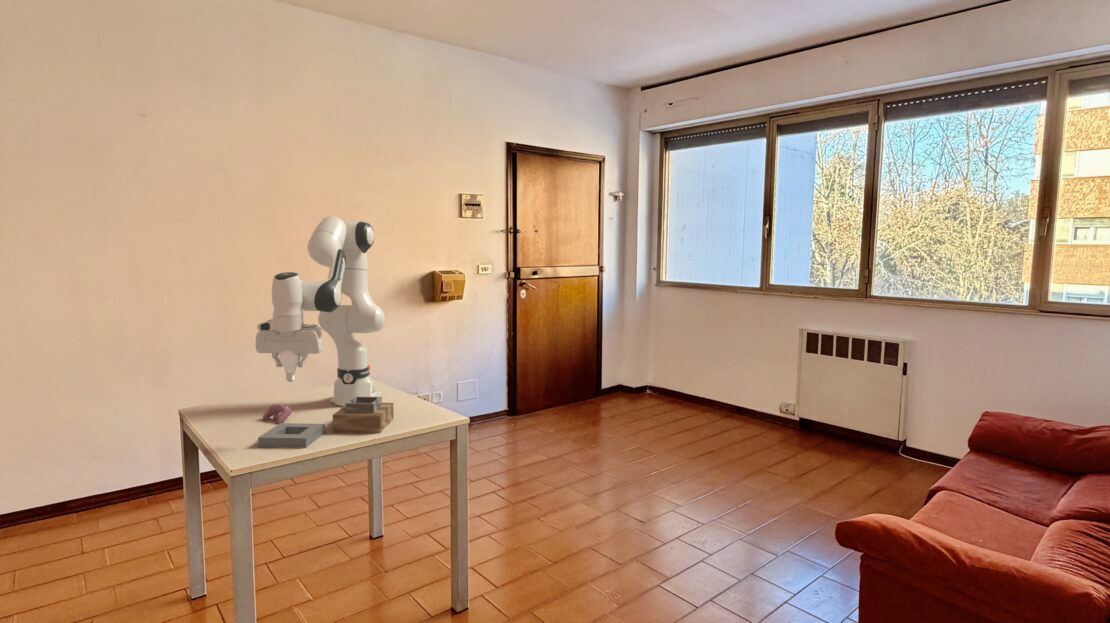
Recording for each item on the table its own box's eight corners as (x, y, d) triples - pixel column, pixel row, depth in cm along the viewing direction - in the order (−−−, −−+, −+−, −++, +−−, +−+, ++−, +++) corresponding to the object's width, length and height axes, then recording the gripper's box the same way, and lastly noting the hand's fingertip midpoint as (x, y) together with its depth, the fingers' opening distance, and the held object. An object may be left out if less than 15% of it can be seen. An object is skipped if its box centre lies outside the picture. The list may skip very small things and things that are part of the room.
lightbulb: (275, 382, 190) (274, 348, 189) (289, 378, 196) (288, 345, 195) (291, 384, 188) (290, 349, 187) (305, 380, 194) (305, 346, 193)
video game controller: (288, 426, 213) (295, 407, 215) (278, 423, 209) (285, 404, 211) (270, 421, 218) (278, 403, 220) (260, 419, 214) (267, 400, 216)
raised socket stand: (349, 418, 218) (349, 394, 217) (393, 418, 218) (393, 394, 217) (333, 432, 202) (332, 406, 201) (380, 432, 202) (379, 406, 201)
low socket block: (280, 431, 201) (280, 423, 201) (325, 432, 201) (324, 423, 201) (258, 446, 187) (257, 437, 186) (306, 447, 186) (306, 438, 186)
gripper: (325, 323, 193) (326, 365, 194) (261, 322, 193) (264, 364, 195) (317, 325, 186) (318, 369, 188) (251, 325, 187) (254, 368, 188)
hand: (290, 366), depth 191 cm, fingers closed on lightbulb, 6 cm apart
